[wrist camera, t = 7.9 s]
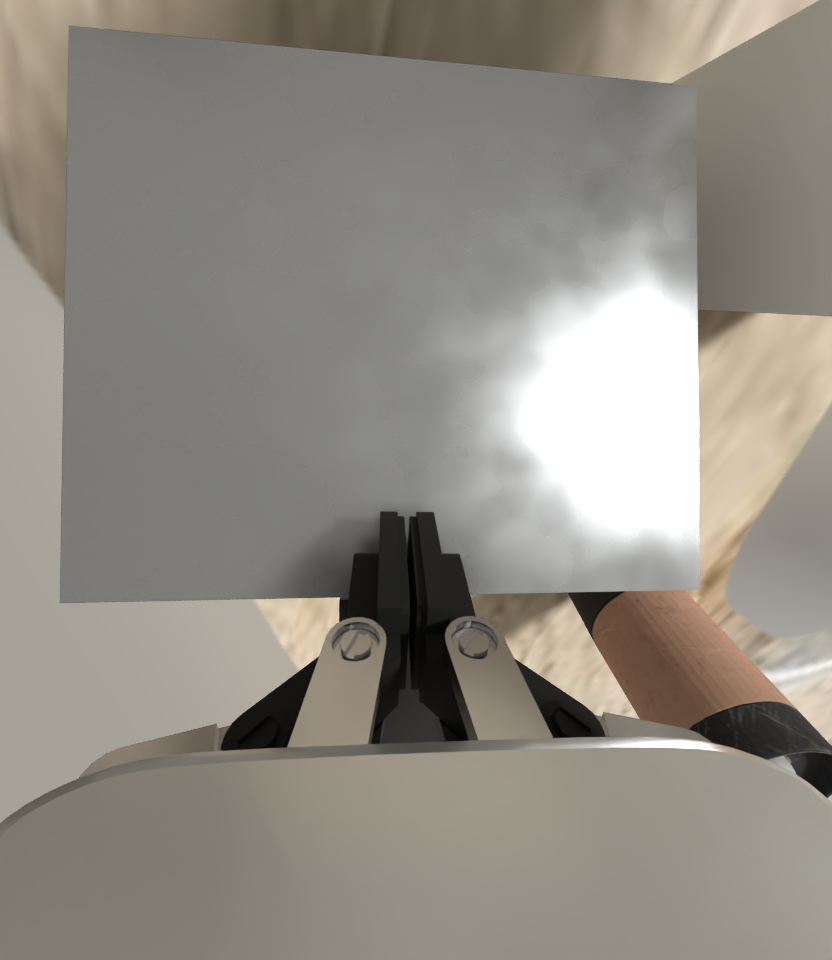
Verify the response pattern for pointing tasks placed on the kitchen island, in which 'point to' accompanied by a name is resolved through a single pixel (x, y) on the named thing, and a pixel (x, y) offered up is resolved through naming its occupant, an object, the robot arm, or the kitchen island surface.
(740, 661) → the travel mug
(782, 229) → the milk
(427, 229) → the lid
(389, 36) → the kitchen island surface
